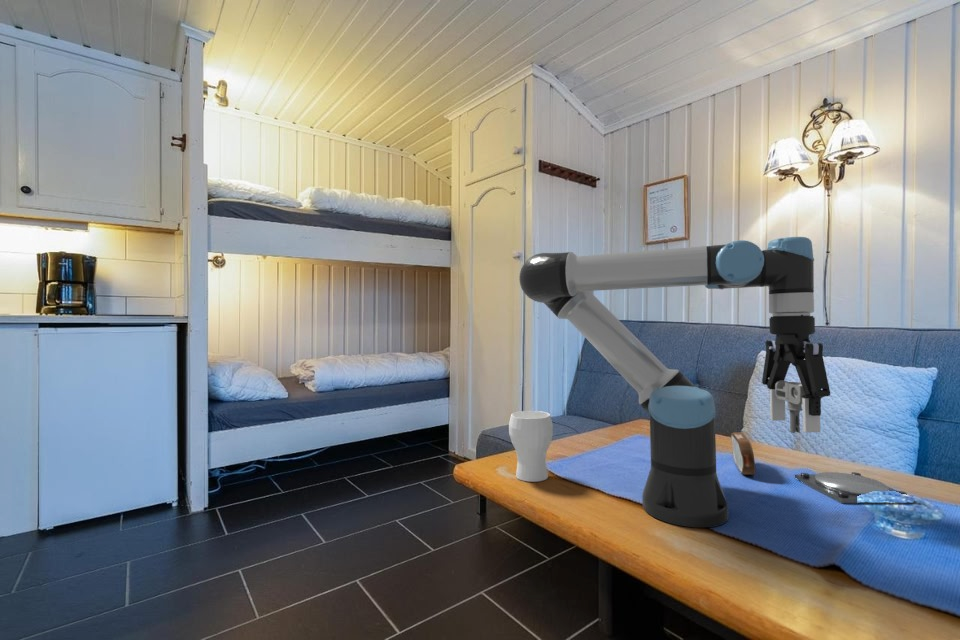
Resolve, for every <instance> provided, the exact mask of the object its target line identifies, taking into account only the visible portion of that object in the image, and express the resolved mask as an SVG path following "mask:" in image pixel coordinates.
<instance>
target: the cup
mask: <svg viewBox="0 0 960 640" xmlns="http://www.w3.org/2000/svg"><path fill="white" fill-rule="evenodd" d="M553 427H554V425H553V421H552V416H551V414H550V413H549V412H547V411H546V412H545V411H540V410H522V411H521V410H520V411H516V412H512V413H511V414H510V419H509V422H508V434H509V437H510V441H511V444H512V446H513V447H514V450H515V453H516V458H517V464H516V471H515V473H516V474H515V477H516V478H517V480H519V481H523V482H533V483H534V482H542V481H545V480H547V479H548V478H549V474H548V473H549V472H548V467H547V462H546V459H547V452H548V450H549V447H550V445H551V444H552V439H553V436H554V428H553Z"/></svg>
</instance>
